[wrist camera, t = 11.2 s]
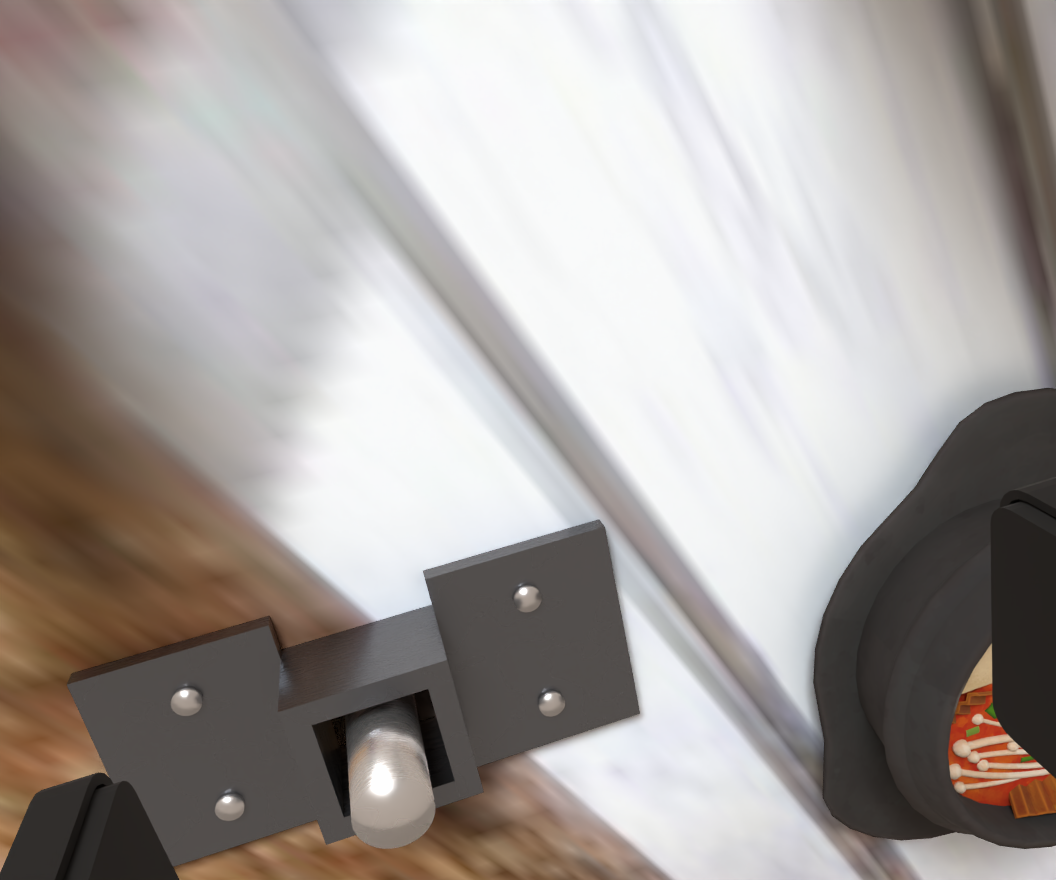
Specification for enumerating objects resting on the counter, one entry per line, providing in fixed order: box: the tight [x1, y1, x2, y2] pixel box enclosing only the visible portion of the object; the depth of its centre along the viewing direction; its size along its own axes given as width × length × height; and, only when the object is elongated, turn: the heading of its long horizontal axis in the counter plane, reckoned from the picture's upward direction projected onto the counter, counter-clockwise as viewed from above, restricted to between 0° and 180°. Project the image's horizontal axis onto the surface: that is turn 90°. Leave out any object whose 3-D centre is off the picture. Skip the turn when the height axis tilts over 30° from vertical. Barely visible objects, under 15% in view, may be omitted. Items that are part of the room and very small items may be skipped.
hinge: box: [67, 520, 640, 867], centre depth 37 cm, size 23×10×4 cm, turn 102°
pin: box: [345, 693, 435, 849], centre depth 36 cm, size 3×3×8 cm
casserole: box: [813, 388, 1056, 849], centre depth 42 cm, size 25×19×8 cm
